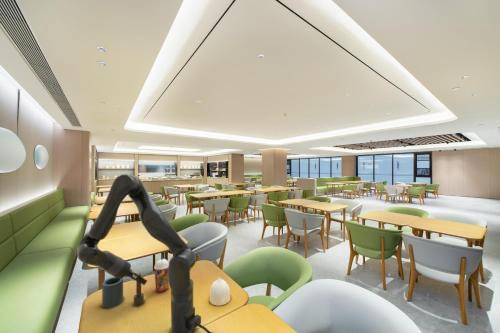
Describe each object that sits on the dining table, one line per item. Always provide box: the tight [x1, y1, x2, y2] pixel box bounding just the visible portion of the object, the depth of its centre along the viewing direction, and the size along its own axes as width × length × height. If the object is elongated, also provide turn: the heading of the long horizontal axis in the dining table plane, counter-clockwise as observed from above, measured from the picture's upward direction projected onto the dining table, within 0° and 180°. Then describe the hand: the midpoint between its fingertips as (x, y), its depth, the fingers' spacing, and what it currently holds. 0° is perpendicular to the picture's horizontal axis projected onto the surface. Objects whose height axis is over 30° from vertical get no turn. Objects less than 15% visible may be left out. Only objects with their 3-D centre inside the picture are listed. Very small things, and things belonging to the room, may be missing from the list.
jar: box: [101, 276, 124, 309], centre depth 110 cm, size 9×9×11 cm
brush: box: [133, 272, 145, 307], centre depth 109 cm, size 5×5×15 cm
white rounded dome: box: [209, 276, 231, 306], centre depth 113 cm, size 11×11×12 cm
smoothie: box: [153, 254, 170, 293], centre depth 121 cm, size 8×8×20 cm
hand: (141, 280), depth 110 cm, fingers open, 8 cm apart
